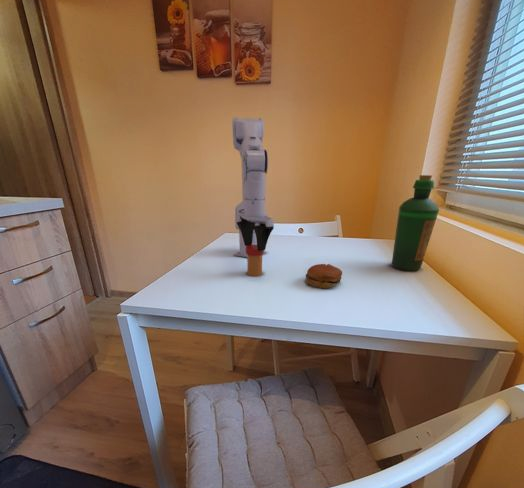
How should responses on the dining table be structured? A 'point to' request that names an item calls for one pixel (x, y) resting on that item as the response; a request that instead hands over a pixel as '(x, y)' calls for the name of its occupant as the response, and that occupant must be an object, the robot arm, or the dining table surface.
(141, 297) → the dining table surface
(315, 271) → the burger
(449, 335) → the dining table surface
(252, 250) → the jar lid
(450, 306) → the dining table surface
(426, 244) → the bottle
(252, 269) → the honey jar
